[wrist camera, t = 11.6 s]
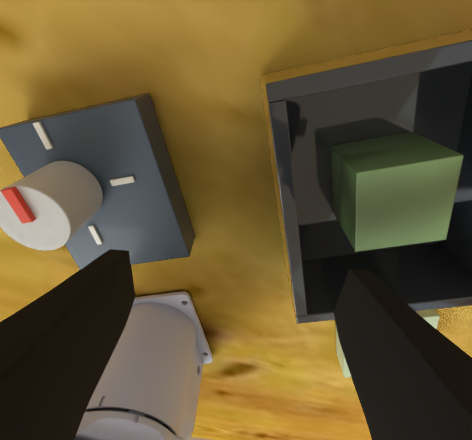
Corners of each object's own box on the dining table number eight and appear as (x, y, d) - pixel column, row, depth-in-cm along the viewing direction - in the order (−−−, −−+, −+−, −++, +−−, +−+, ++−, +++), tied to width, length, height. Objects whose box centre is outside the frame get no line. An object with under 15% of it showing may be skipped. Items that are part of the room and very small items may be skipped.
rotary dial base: (195, 236, 21) (189, 258, 19) (80, 253, 22) (61, 276, 20) (149, 92, 16) (133, 98, 14) (6, 124, 17) (-31, 134, 15)
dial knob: (113, 211, 17) (80, 249, 14) (59, 220, 18) (15, 258, 14) (86, 154, 15) (41, 182, 12) (28, 166, 16) (-31, 195, 12)
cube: (403, 201, 18) (446, 240, 14) (332, 211, 19) (355, 252, 15) (411, 130, 16) (464, 154, 12) (330, 145, 16) (356, 172, 13)
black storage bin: (440, 242, 21) (503, 302, 16) (285, 263, 22) (296, 324, 17) (484, 26, 14) (615, 8, 9) (259, 75, 15) (265, 83, 10)
